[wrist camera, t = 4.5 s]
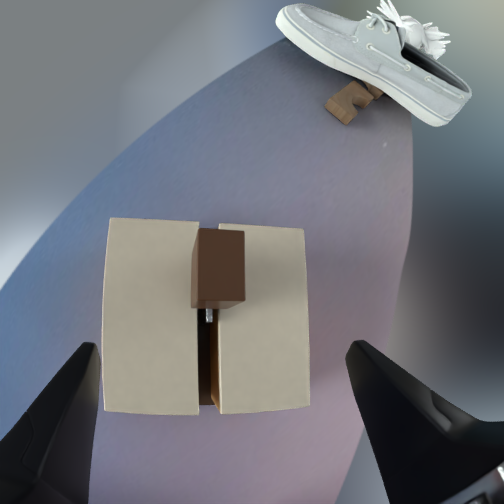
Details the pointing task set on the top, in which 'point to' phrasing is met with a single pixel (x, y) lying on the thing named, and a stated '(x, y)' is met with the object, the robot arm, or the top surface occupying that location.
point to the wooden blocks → (351, 100)
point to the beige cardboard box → (207, 335)
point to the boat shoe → (378, 59)
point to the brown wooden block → (217, 271)
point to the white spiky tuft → (416, 31)
